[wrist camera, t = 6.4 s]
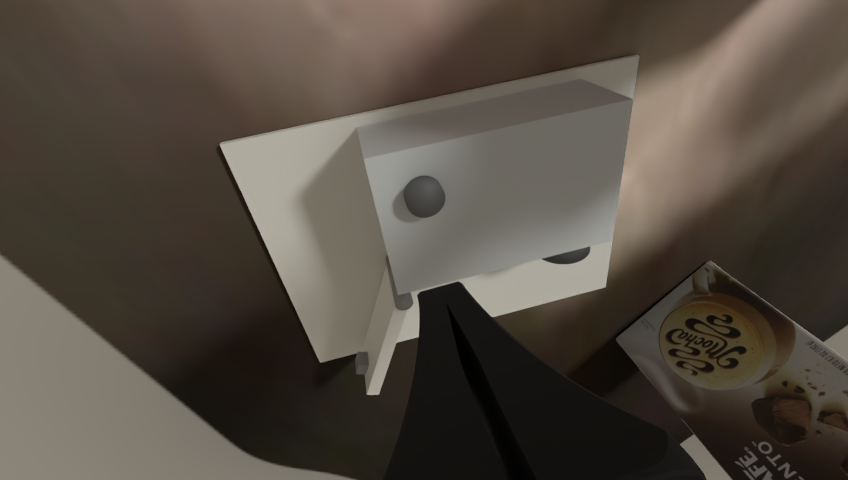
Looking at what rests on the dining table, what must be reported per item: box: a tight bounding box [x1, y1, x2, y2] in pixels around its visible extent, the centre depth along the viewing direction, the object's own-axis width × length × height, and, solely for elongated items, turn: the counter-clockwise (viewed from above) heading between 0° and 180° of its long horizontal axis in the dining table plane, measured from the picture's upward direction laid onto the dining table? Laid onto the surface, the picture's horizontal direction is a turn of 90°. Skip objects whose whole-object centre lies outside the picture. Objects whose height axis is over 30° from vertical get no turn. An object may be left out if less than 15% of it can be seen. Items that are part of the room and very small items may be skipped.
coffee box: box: [616, 261, 848, 480], centre depth 25 cm, size 9×6×16 cm
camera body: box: [357, 79, 633, 295], centre depth 19 cm, size 11×8×5 cm
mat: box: [220, 54, 640, 363], centre depth 23 cm, size 20×15×1 cm
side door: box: [355, 255, 413, 395], centre depth 23 cm, size 8×1×4 cm, turn 164°
